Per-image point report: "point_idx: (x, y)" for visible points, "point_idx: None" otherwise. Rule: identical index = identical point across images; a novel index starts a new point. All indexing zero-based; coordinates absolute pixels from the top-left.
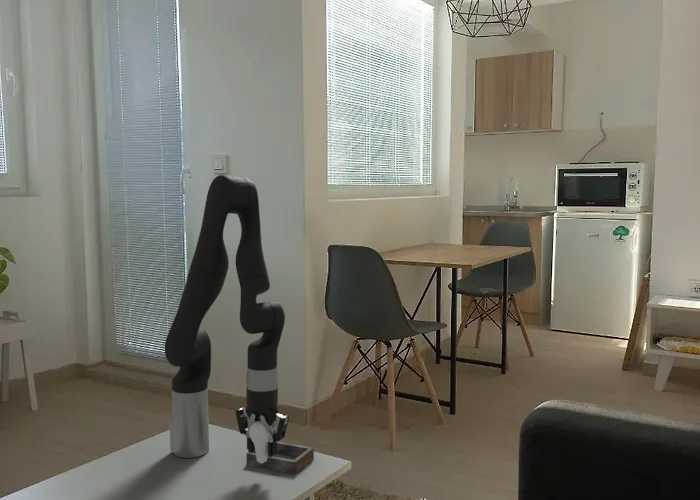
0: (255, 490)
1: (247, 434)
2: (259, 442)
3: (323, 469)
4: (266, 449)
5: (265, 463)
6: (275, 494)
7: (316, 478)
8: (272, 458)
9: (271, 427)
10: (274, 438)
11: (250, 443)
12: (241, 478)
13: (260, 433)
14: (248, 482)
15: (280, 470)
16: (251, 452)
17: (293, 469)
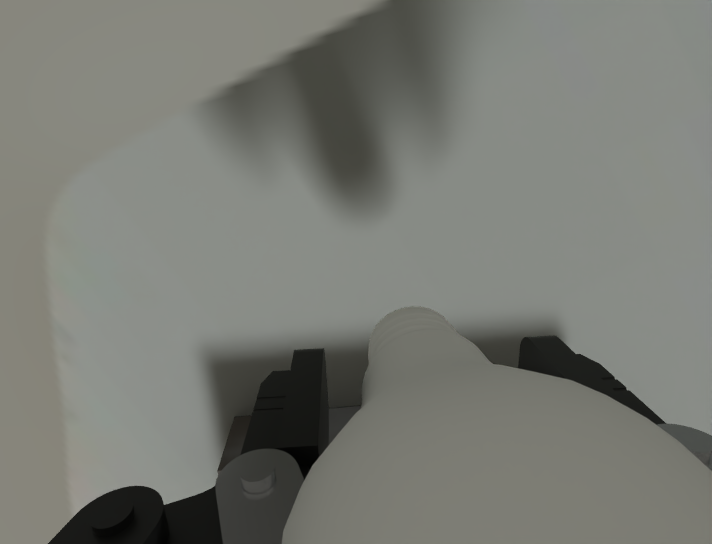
0: (320, 112)
1: (709, 460)
2: (416, 374)
3: None
4: (362, 399)
5: None
6: (159, 124)
7: (91, 427)
8: None
9: None
10: (211, 529)
11: None
12: (505, 223)
13: (414, 481)
14: (432, 195)
15: (338, 410)
16: (522, 345)
17: (245, 433)
